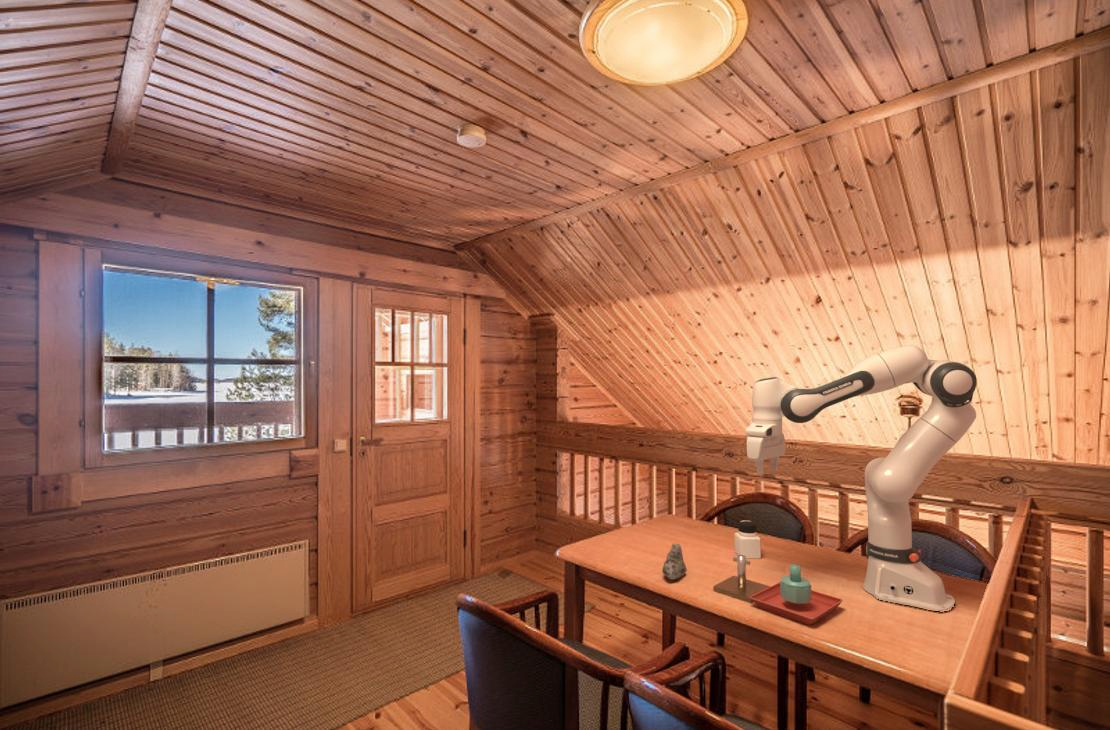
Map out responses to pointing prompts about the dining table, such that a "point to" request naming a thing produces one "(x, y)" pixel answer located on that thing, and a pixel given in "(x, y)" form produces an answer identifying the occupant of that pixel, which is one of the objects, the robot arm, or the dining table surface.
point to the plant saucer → (796, 605)
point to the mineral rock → (674, 563)
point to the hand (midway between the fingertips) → (767, 472)
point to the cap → (795, 586)
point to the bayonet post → (740, 583)
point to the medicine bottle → (747, 540)
